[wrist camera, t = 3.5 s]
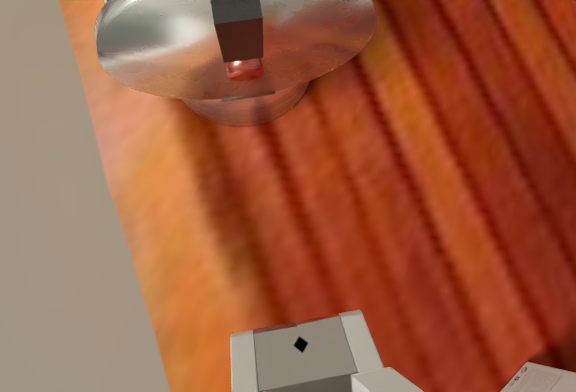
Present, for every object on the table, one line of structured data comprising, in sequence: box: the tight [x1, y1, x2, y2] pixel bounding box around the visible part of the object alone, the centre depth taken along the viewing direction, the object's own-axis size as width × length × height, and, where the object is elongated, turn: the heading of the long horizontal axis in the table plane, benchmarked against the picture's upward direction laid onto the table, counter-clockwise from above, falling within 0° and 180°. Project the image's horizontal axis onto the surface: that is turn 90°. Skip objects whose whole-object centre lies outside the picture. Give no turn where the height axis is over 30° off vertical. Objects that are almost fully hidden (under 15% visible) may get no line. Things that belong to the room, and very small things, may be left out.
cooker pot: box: [107, 0, 310, 127], centre depth 38 cm, size 20×14×9 cm
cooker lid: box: [94, 0, 377, 102], centre depth 24 cm, size 15×16×2 cm
